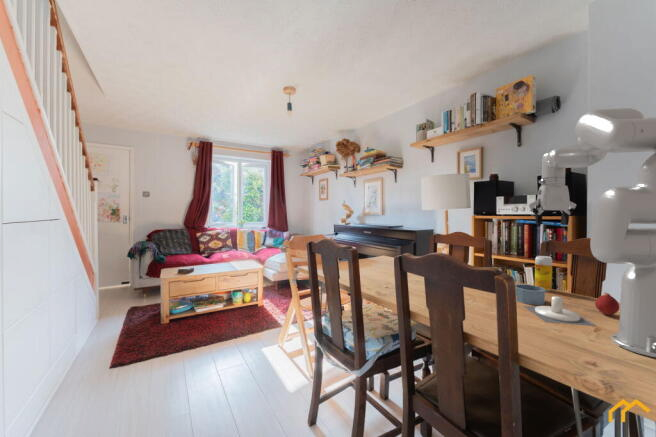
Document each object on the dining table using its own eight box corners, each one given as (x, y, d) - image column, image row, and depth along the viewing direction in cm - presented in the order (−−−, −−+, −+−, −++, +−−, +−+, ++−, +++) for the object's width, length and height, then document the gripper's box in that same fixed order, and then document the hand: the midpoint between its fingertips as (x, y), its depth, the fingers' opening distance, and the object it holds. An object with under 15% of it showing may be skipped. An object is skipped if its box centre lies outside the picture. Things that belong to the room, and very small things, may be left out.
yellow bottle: (531, 288, 129) (532, 256, 128) (540, 287, 130) (541, 255, 130) (544, 292, 123) (546, 258, 122) (554, 291, 125) (555, 257, 124)
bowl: (550, 306, 105) (550, 292, 105) (520, 304, 107) (520, 290, 107) (536, 298, 115) (536, 284, 115) (509, 296, 117) (509, 283, 117)
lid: (589, 323, 89) (590, 304, 88) (546, 320, 91) (547, 302, 91) (566, 310, 100) (566, 293, 100) (528, 307, 103) (528, 291, 103)
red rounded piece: (608, 312, 99) (609, 290, 99) (623, 319, 93) (625, 295, 93) (590, 312, 99) (591, 290, 99) (604, 318, 94) (605, 295, 93)
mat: (596, 327, 87) (596, 325, 87) (545, 323, 90) (545, 321, 90) (566, 309, 102) (566, 308, 102) (523, 306, 105) (523, 305, 105)
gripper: (535, 182, 112) (534, 224, 113) (583, 181, 110) (581, 225, 111) (525, 183, 120) (523, 223, 120) (569, 183, 118) (567, 224, 118)
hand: (551, 224), depth 116 cm, fingers open, 9 cm apart
